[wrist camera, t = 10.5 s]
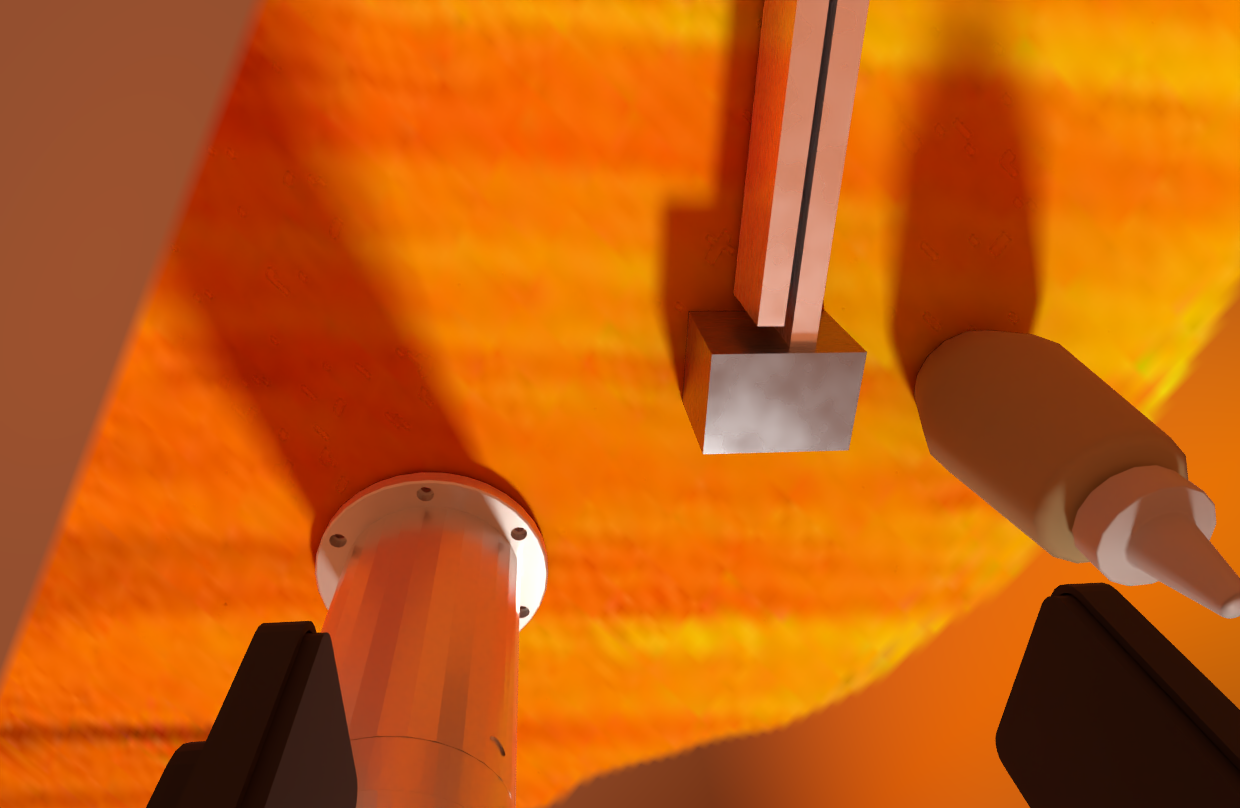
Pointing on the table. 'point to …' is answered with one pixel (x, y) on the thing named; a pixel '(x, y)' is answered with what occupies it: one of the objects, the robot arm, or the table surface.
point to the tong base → (789, 305)
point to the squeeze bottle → (1071, 463)
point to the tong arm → (778, 154)
